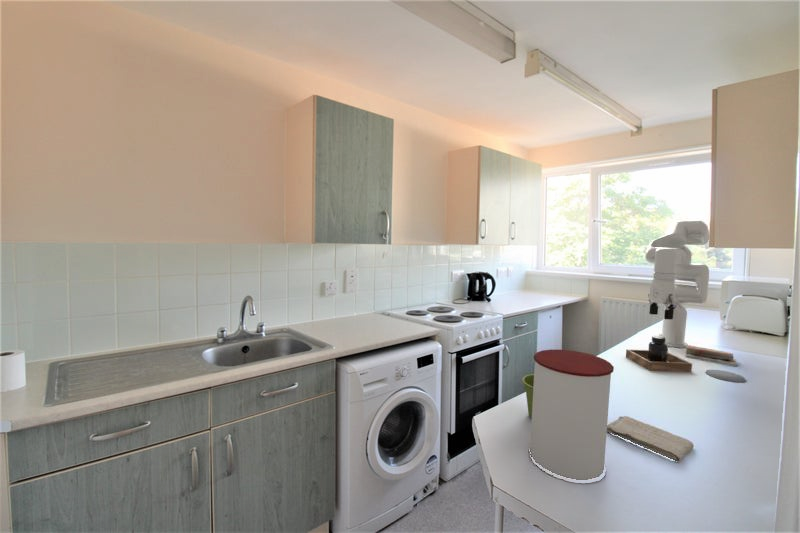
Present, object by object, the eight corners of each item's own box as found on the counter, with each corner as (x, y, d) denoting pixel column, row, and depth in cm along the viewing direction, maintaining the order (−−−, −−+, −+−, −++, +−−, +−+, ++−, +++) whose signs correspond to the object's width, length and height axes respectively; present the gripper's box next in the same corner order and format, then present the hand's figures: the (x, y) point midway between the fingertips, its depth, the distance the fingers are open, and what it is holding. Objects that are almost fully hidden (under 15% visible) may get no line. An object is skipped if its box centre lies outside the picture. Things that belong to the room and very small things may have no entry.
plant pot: (512, 413, 113) (513, 377, 112) (539, 405, 119) (541, 371, 118) (542, 432, 103) (545, 392, 102) (571, 422, 108) (574, 385, 107)
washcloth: (620, 421, 111) (621, 411, 110) (695, 450, 97) (696, 438, 96) (602, 434, 103) (603, 423, 103) (680, 466, 89) (681, 454, 89)
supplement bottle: (662, 362, 163) (664, 335, 162) (669, 367, 157) (671, 339, 156) (644, 360, 165) (647, 334, 164) (650, 365, 158) (653, 338, 157)
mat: (698, 370, 154) (698, 369, 154) (727, 371, 154) (728, 370, 154) (721, 381, 142) (721, 380, 142) (754, 382, 142) (754, 381, 142)
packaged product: (685, 347, 171) (687, 343, 179) (684, 357, 172) (686, 353, 179) (738, 356, 159) (737, 351, 167) (736, 367, 160) (736, 362, 167)
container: (614, 459, 91) (621, 360, 89) (594, 495, 78) (603, 381, 76) (543, 433, 102) (548, 345, 100) (516, 461, 89) (521, 360, 87)
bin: (625, 356, 170) (626, 349, 169) (663, 358, 169) (664, 350, 169) (648, 370, 153) (649, 362, 152) (691, 372, 152) (692, 363, 152)
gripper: (642, 274, 166) (639, 312, 168) (668, 279, 149) (665, 320, 150) (659, 275, 166) (656, 312, 167) (688, 279, 149) (684, 321, 150)
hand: (660, 316), depth 159 cm, fingers open, 9 cm apart
